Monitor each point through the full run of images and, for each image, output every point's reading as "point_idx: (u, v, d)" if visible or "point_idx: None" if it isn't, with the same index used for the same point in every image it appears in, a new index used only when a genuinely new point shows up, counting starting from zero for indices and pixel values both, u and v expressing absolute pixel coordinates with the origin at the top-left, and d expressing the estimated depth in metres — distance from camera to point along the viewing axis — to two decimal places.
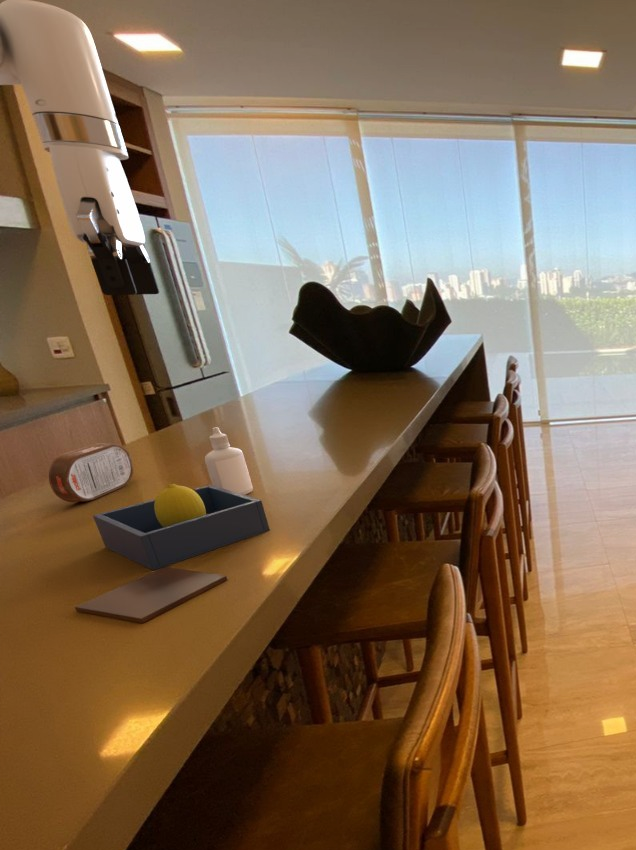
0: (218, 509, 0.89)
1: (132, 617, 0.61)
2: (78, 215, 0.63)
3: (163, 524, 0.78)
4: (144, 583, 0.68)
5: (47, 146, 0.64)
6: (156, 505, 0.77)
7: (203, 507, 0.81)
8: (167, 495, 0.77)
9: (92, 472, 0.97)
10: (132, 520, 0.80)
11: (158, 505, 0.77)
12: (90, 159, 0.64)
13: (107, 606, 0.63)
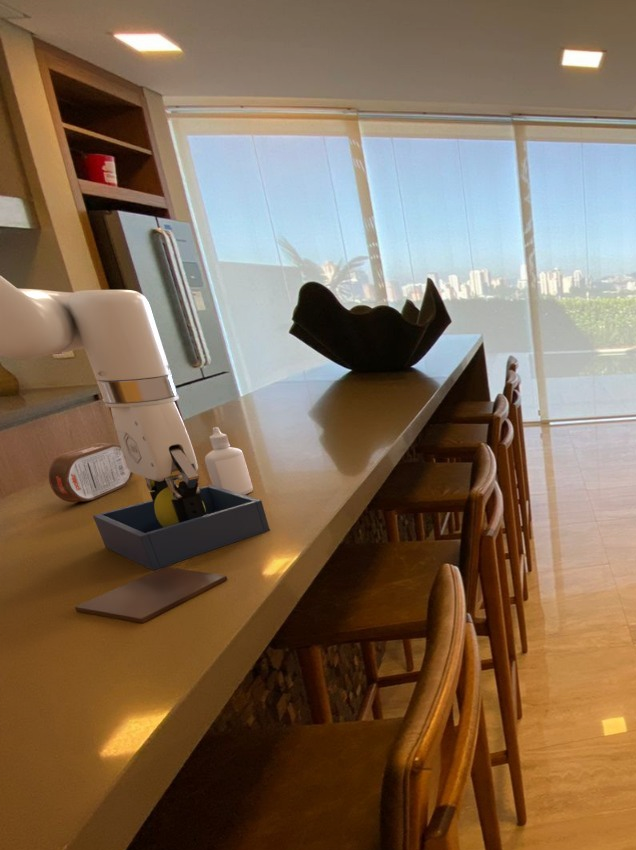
0: (218, 509, 0.89)
1: (132, 617, 0.61)
2: (189, 476, 0.74)
3: (163, 524, 0.78)
4: (144, 583, 0.68)
5: (125, 406, 0.71)
6: (156, 505, 0.77)
7: None
8: (167, 495, 0.77)
9: (92, 472, 0.97)
10: (132, 520, 0.80)
11: (158, 505, 0.77)
12: (173, 412, 0.73)
13: (107, 606, 0.63)
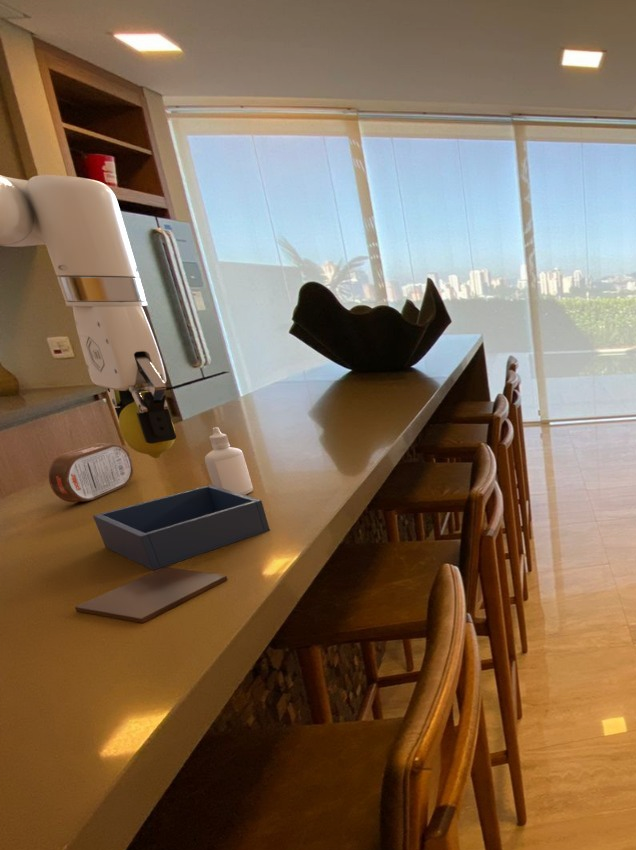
0: (218, 509, 0.89)
1: (132, 617, 0.61)
2: (155, 385, 0.69)
3: (128, 441, 0.73)
4: (144, 583, 0.68)
5: (87, 305, 0.66)
6: (121, 420, 0.72)
7: None
8: (133, 409, 0.72)
9: (92, 472, 0.97)
10: (132, 520, 0.80)
11: (123, 420, 0.72)
12: (140, 317, 0.69)
13: (107, 606, 0.63)
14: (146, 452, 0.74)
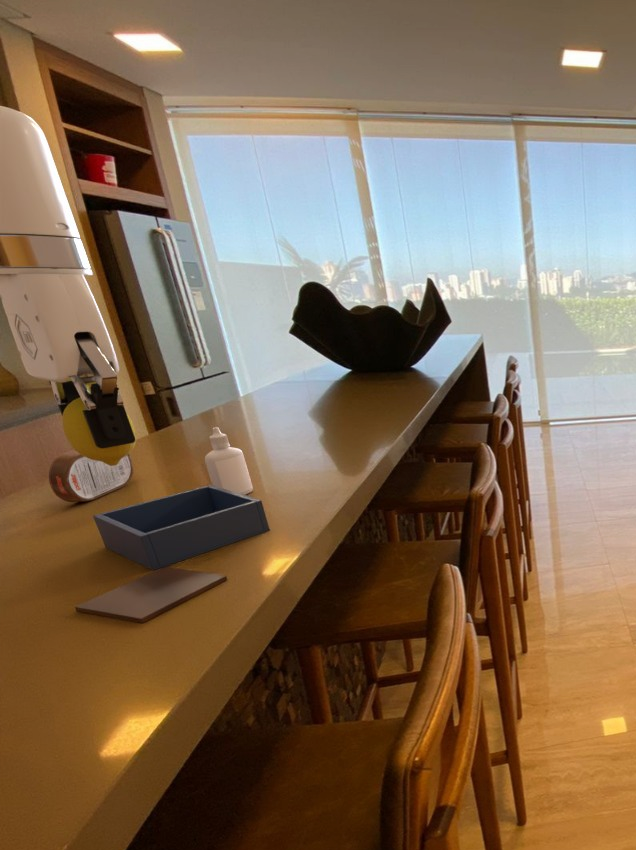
0: (218, 509, 0.89)
1: (132, 617, 0.61)
2: (103, 375, 0.54)
3: (75, 445, 0.59)
4: (144, 583, 0.68)
5: (10, 273, 0.51)
6: (64, 419, 0.58)
7: (131, 426, 0.61)
8: (79, 405, 0.58)
9: (92, 472, 0.97)
10: (132, 520, 0.80)
11: (67, 419, 0.58)
12: (81, 288, 0.54)
13: (107, 606, 0.63)
14: (99, 459, 0.60)
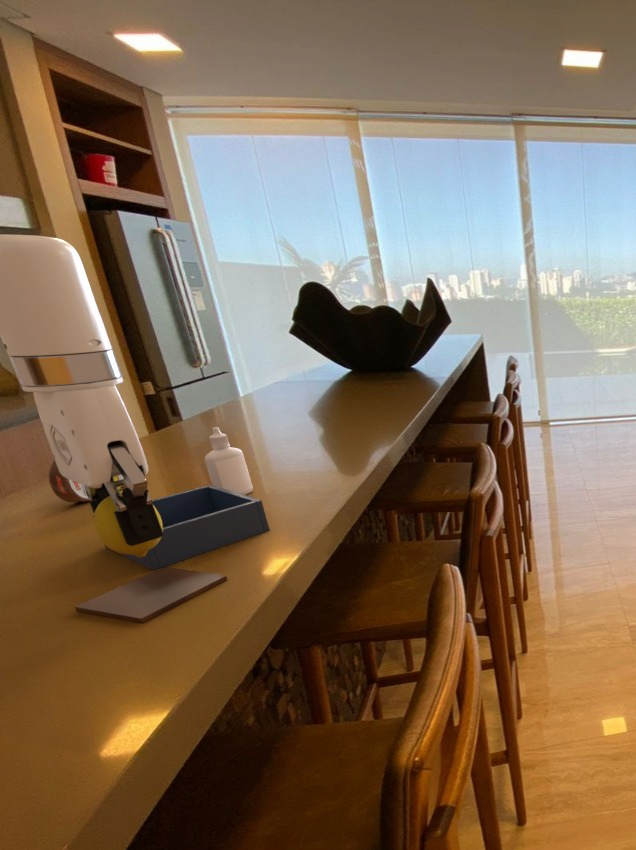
0: (218, 509, 0.89)
1: (132, 617, 0.61)
2: (134, 482, 0.57)
3: (106, 543, 0.61)
4: (144, 583, 0.68)
5: (47, 391, 0.54)
6: (96, 518, 0.60)
7: (159, 520, 0.64)
8: (110, 505, 0.60)
9: None
10: None
11: (99, 519, 0.60)
12: (113, 399, 0.57)
13: (107, 606, 0.63)
14: (128, 553, 0.63)
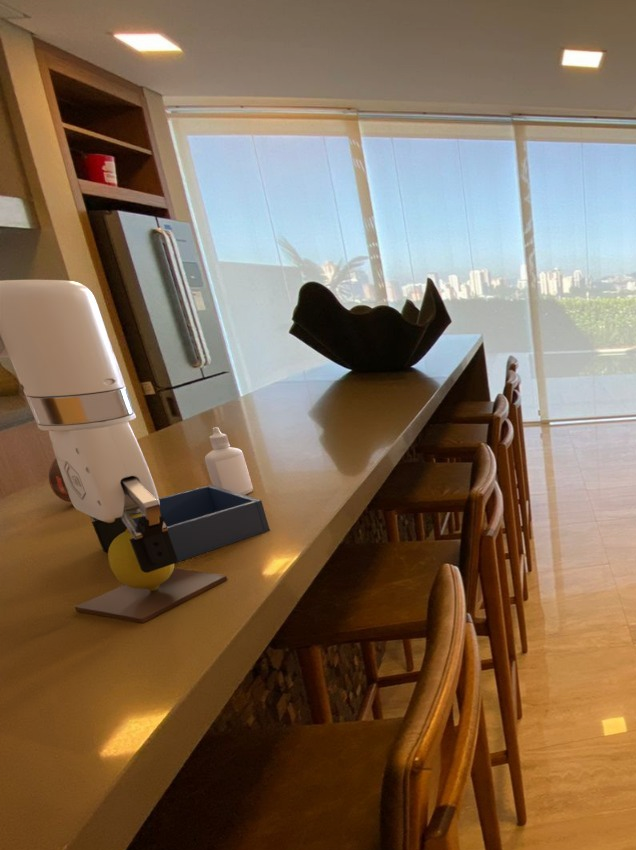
0: (218, 509, 0.89)
1: (132, 617, 0.61)
2: (146, 504, 0.57)
3: (119, 578, 0.63)
4: None
5: (63, 429, 0.55)
6: (110, 555, 0.62)
7: None
8: (124, 542, 0.62)
9: None
10: None
11: (113, 555, 0.62)
12: (126, 436, 0.58)
13: (107, 606, 0.63)
14: (141, 587, 0.64)
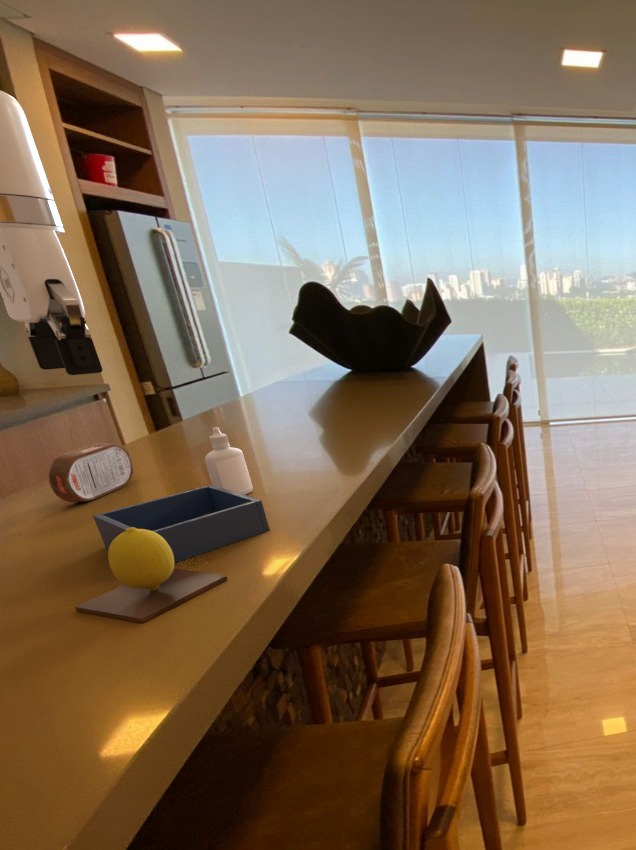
0: (218, 509, 0.89)
1: (132, 617, 0.61)
2: (65, 300, 0.63)
3: (119, 578, 0.63)
4: None
5: None
6: (110, 555, 0.62)
7: (170, 554, 0.66)
8: (124, 542, 0.62)
9: (92, 472, 0.97)
10: (132, 520, 0.80)
11: (113, 555, 0.62)
12: (51, 241, 0.64)
13: (107, 606, 0.63)
14: (141, 587, 0.64)
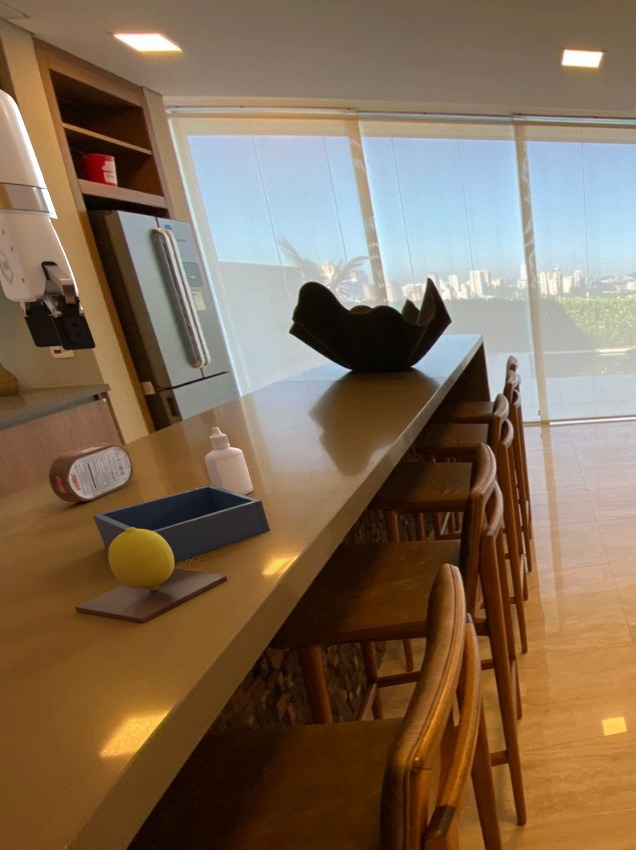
0: (218, 509, 0.89)
1: (132, 617, 0.61)
2: (61, 280, 0.69)
3: (119, 578, 0.63)
4: None
5: None
6: (110, 555, 0.62)
7: (170, 554, 0.66)
8: (124, 542, 0.62)
9: (92, 472, 0.97)
10: (132, 520, 0.80)
11: (113, 555, 0.62)
12: (46, 227, 0.70)
13: (107, 606, 0.63)
14: (141, 587, 0.64)
